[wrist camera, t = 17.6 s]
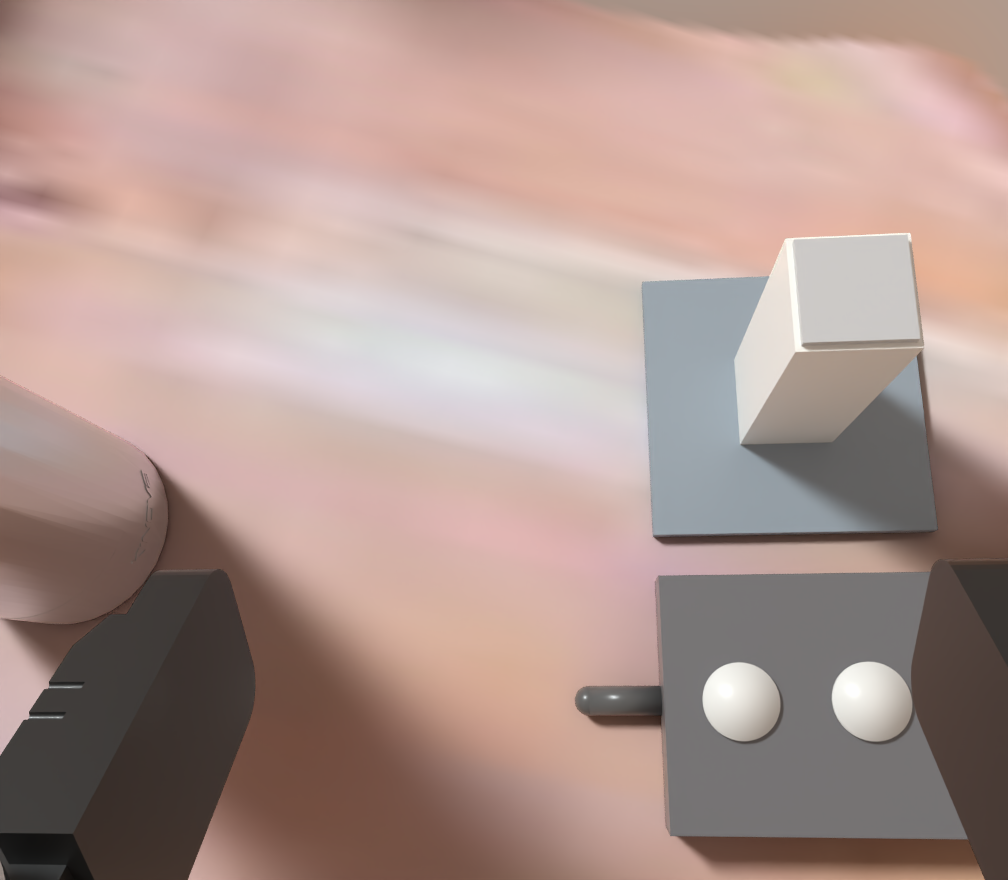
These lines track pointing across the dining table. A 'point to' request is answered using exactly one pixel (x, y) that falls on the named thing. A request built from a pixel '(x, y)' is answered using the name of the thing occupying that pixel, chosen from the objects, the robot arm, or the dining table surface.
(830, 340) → the white tall rectangular block
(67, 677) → the robot arm
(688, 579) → the power strip
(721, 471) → the mat
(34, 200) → the dining table surface
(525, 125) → the dining table surface
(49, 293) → the dining table surface
